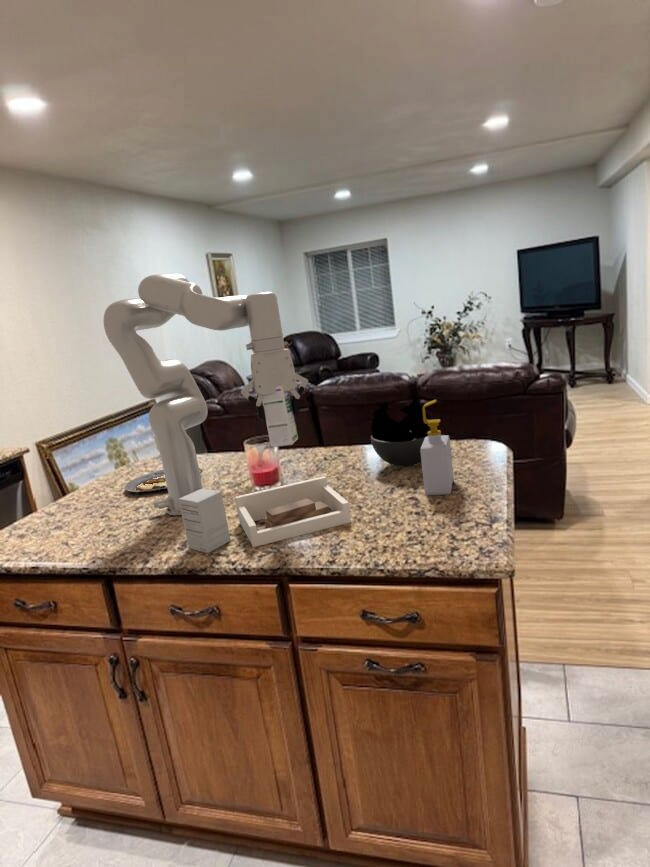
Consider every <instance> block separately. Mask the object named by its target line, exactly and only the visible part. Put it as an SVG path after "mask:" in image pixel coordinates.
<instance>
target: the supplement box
mask: <svg viewBox="0 0 650 867" xmlns="http://www.w3.org/2000/svg"><path fill="white" fill-rule="evenodd" d="M178 500H179V504H180V509H181V514H182V516H181V517H182V523H183V527H184V533H185V537H186V542H187V546H188V549H190V548H191V549H192V550H194V551H199V552H202V553H206V554H210V553H211V552H214V550H216V549H218V548H220V547H222V546H224V545H226V544H227V543H229V542H230V541H232V540H231V536H230V531H229V530H230V529H229V525H228V520H227V515H226V509H225V504H224V499H223V494H222V491H219V490H214V489H205V488H203V489H200V490H198V491H195V492H193V493H191V494H189V495H186V496H184V497H182V498H179V499H178ZM191 549H190V550H191Z"/></svg>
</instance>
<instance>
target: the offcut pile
mask: <svg viewBox="0 0 650 867" xmlns="http://www.w3.org/2000/svg"><path fill="white" fill-rule="evenodd" d="M332 512H333V511H331V510H330V509H329V506H328V505H326V504H324V503H323V502H321V501H319V502H316V503H315V502H313V501H311V500H309V499H308V498H306V499H303V500H300V501H296V502H293V503H289V504H286V505H283V506H279V507H276V508H273V509H269V510H266V514H267V517H266V518H264V519H263V520H264V525H262V526H259V527H256V528H257V531H259V530H263V529H267V528H271V527H275V526H279V525H283V524H287V523H291V522H295V521H299V520H303V519H308V518H312V517H316V516H320V515H324V514H328V513H332Z"/></svg>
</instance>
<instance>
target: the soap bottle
mask: <svg viewBox="0 0 650 867" xmlns="http://www.w3.org/2000/svg"><path fill="white" fill-rule="evenodd" d="M435 403H437V399H433V400H430V401H428V402H426V403H425V404H424V405H423V406H422V407H423V409H422V411H423V421H424V423H425V424H428V426H429V427H430V429H431V431H428V432H427V433H428V437H425V439H424V441H423V444H422V446H421V450H420V452H421V461H422V462H421V469H422V470H421V471H422V479H423V488H424V493H425V496H436V495H437V496H440V495H441V496H443V495H451V494H452V493H451V492H452V488H453V482H454V470H453V459H452V450H451V448H452V447H451V440H450V435H448V434H447V435H445V434H442V431H441V430H440V429H438V427H439V426H440V424H439V423H441V419H439V418H438V419H437V418H436V419H431V420H427V419H426V415H425V413H426V408H427V407H429V406H431V405H433V404H435Z"/></svg>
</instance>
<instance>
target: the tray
mask: <svg viewBox="0 0 650 867" xmlns="http://www.w3.org/2000/svg"><path fill="white" fill-rule="evenodd" d="M234 498H235V502H236V503H235V504H236V510H237V514H238V519H239V523H240V525H241V527H242V529H243V531H244V533H245V534H246V537H247V538H248V540H249V542H250V544H251V546H252V547H253V548H256V547H258V546H259V547H260V546H263V545H267V544H271V543H275V542H280V541H282V540H287V539H290V538H295V537H298V536H302V535H307V534H310V533H311V534H312V533H314V532H320V531H322V530H323V531H324V530H326V529H329V528H334V527H337V526H342V525H346V524H350V523H352V517H351V511H350V509H351V508H350V503H349V502H348V501H347V500H346V499H345V498H344V497H342V495H340V493H338V492H337V491H335V490H334V489H333V488H332V487H330V485H328V482H327V477H326V476H320V477H315V478H310V479H307V480H302V481H297V482H293V483H290V484H285V485H281V486H276V487H271V488H267V489H264V490H257V491H255V492H249V493H246V494H245V493H244V494H241V495H236V496H234ZM306 498H308V499H309V500H311V501H313V502H315V503H316V502H319V501H321V502H323V503H324V504H326V505H328V506H329V508H330V509H331V510H332V511H331V510H330V509H329V510H330V511H331V512H332V513H328V514H324V515H320V516H316V517H312V518H308V519H303V520H299V521H295V522H291V523H287V524H283V525H279V526H275V527H271V528H267V529H263V530H259V531H257V528H258V527H257V524H256V522H255V521H260V520H265V519H264V518H266V517H267V514H266V510H269V509H273V508H276V507H279V506H283V505H286V504H289V503H293V502H296V501H300V500H303V499H306Z"/></svg>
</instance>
